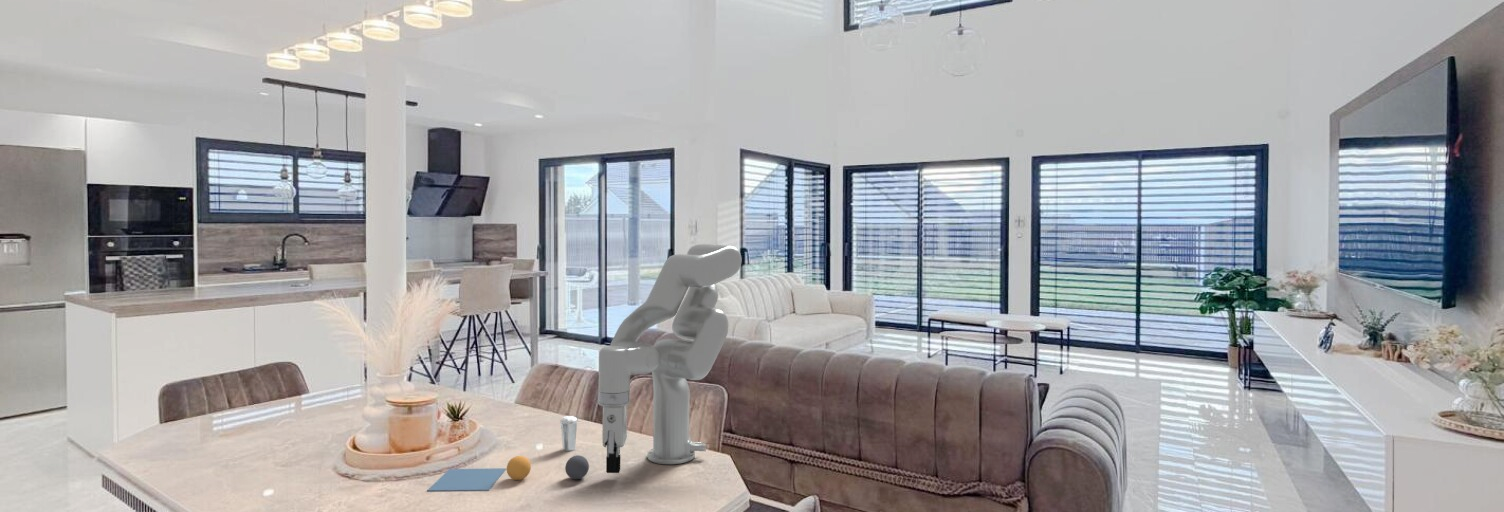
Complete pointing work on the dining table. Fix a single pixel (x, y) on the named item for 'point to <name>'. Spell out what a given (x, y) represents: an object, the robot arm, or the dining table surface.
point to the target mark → (467, 480)
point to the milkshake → (569, 432)
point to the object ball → (518, 467)
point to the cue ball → (577, 467)
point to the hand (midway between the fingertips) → (613, 471)
